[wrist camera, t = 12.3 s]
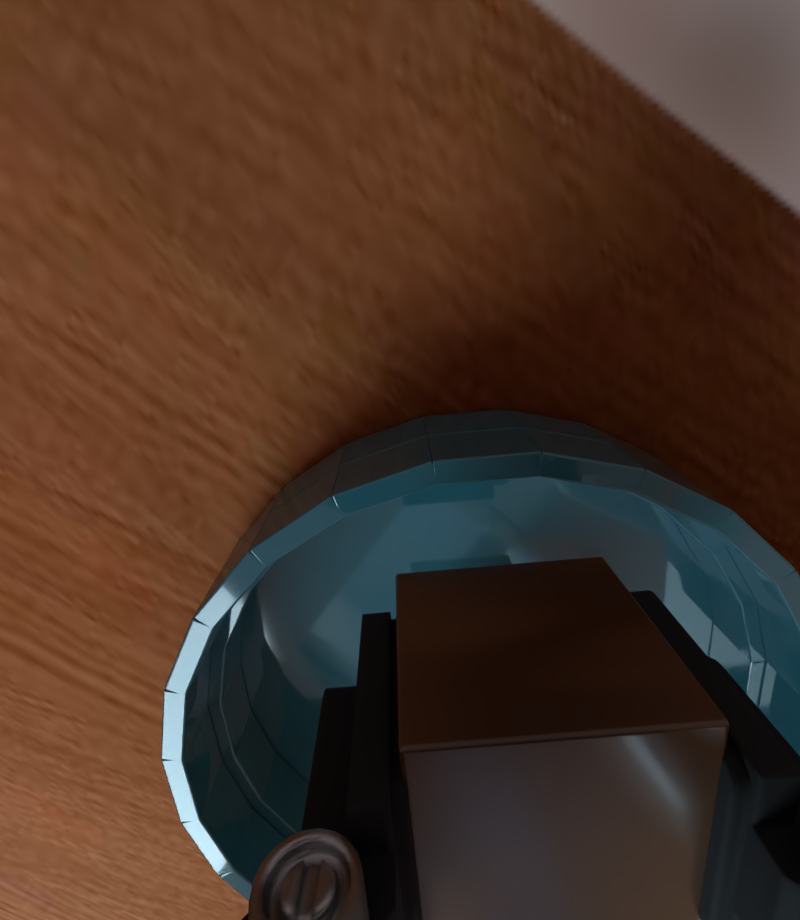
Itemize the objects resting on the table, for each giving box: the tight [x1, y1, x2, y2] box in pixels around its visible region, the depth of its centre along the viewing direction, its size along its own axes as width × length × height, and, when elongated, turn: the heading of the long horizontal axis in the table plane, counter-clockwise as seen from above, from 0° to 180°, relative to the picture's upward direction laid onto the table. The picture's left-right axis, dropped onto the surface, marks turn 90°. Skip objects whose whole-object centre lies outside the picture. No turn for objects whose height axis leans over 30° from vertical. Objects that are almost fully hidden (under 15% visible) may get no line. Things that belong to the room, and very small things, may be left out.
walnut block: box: [395, 557, 729, 920], centre depth 9 cm, size 4×4×4 cm
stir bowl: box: [161, 410, 800, 901], centre depth 16 cm, size 18×18×4 cm
